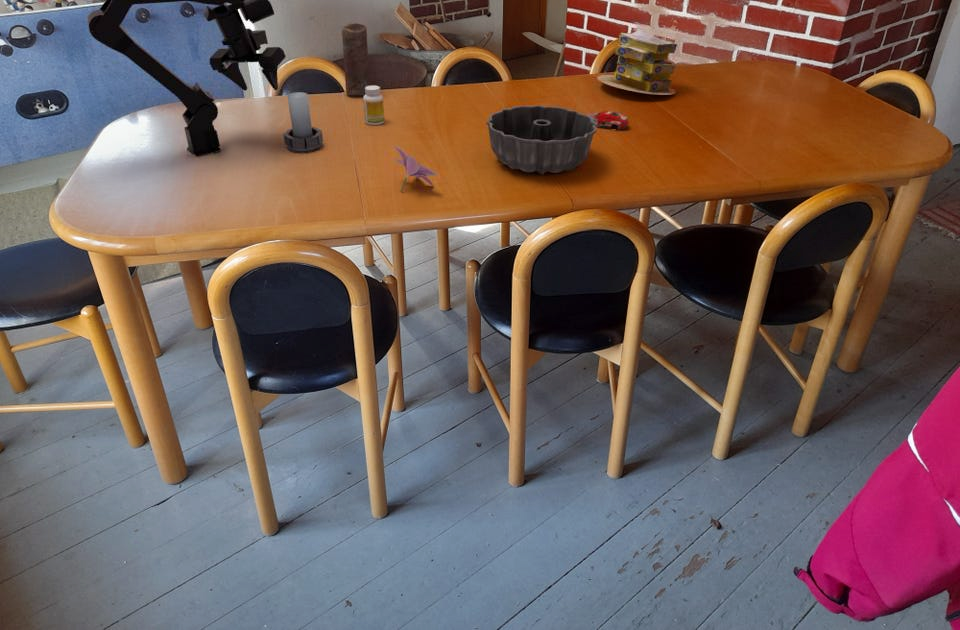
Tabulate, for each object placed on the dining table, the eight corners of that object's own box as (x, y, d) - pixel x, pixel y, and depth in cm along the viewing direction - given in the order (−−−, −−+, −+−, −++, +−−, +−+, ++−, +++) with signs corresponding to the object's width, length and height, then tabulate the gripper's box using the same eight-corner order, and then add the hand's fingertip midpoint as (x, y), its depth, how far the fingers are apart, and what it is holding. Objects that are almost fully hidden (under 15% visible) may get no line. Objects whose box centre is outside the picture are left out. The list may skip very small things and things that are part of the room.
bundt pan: (563, 136, 186) (566, 99, 180) (613, 173, 166) (618, 132, 160) (470, 149, 178) (470, 110, 172) (512, 189, 158) (513, 147, 152)
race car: (577, 126, 194) (578, 111, 191) (583, 120, 198) (584, 106, 195) (624, 133, 189) (626, 118, 187) (629, 126, 193) (631, 112, 191)
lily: (438, 203, 153) (450, 161, 152) (388, 189, 148) (399, 145, 147) (422, 198, 164) (433, 158, 163) (374, 185, 159) (385, 143, 158)
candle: (373, 91, 217) (368, 23, 205) (368, 99, 211) (362, 29, 199) (349, 90, 217) (343, 22, 206) (343, 97, 211) (336, 28, 200)
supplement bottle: (361, 121, 194) (358, 86, 188) (377, 117, 197) (375, 83, 191) (371, 126, 190) (369, 91, 185) (388, 122, 193) (386, 88, 188)
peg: (300, 147, 175) (293, 99, 168) (290, 141, 178) (284, 94, 171) (317, 142, 177) (311, 95, 170) (307, 137, 180) (301, 91, 173)
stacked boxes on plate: (640, 75, 235) (647, 23, 225) (692, 95, 217) (702, 39, 207) (580, 85, 225) (585, 30, 215) (629, 107, 207) (637, 48, 197)
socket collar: (297, 155, 173) (295, 141, 171) (280, 145, 178) (278, 131, 176) (329, 147, 178) (327, 133, 176) (311, 137, 183) (309, 124, 181)
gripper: (282, 12, 166) (306, 71, 178) (218, 15, 172) (245, 72, 184) (261, 36, 160) (287, 96, 171) (195, 38, 166) (224, 96, 177)
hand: (261, 89), depth 176 cm, fingers open, 9 cm apart
